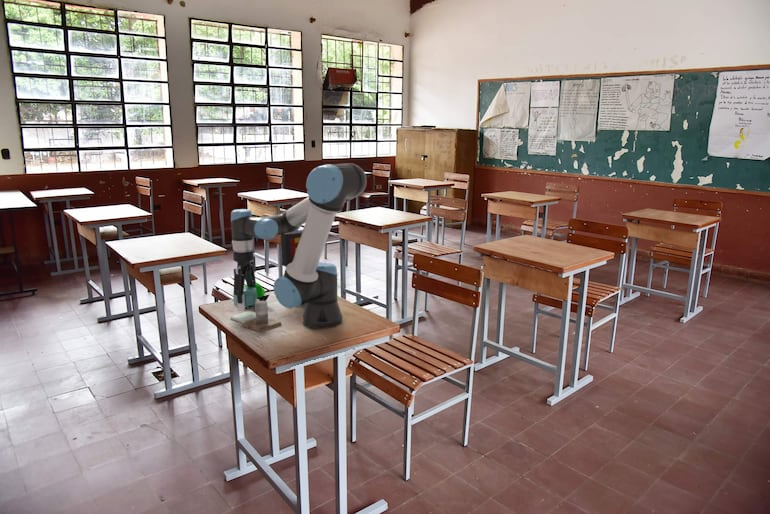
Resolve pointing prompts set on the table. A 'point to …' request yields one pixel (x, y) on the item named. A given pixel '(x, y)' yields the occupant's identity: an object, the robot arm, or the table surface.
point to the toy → (259, 293)
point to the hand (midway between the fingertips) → (246, 306)
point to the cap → (248, 296)
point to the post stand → (261, 318)
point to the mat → (244, 316)
